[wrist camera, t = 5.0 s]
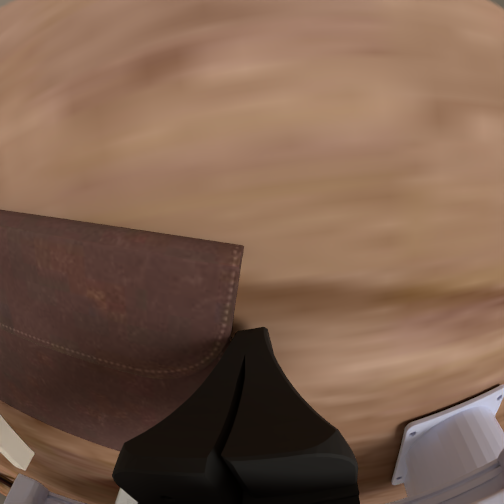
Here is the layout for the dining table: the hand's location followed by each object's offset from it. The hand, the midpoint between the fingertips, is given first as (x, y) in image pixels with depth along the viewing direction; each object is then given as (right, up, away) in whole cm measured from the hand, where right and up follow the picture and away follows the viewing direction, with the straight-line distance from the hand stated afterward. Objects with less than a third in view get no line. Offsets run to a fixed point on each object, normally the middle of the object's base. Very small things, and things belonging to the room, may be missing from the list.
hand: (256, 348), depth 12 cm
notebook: (-11, -1, +3) cm, 12 cm away
